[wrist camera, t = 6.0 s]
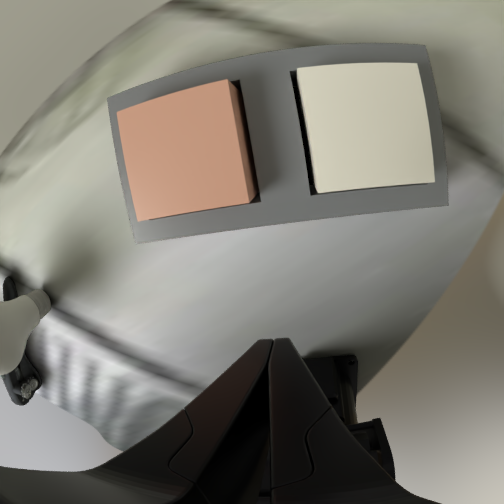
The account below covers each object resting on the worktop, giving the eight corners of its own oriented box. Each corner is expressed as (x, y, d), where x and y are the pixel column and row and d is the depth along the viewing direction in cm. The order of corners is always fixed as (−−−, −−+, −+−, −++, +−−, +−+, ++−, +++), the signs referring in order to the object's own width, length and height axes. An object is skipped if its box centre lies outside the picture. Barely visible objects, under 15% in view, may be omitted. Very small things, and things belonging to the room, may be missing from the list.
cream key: (404, 173, 16) (435, 182, 12) (312, 182, 17) (317, 193, 13) (390, 80, 14) (417, 63, 10) (296, 87, 15) (297, 68, 11)
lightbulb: (51, 261, 23) (-38, 319, 13) (79, 322, 25) (5, 393, 14) (19, 274, 24) (-57, 323, 14) (44, 326, 26) (-22, 386, 16)
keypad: (421, 193, 17) (448, 205, 13) (163, 226, 20) (135, 244, 17) (401, 62, 15) (425, 45, 11) (139, 104, 18) (107, 97, 14)
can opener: (51, 395, 31) (30, 421, 26) (17, 372, 31) (-5, 394, 26) (32, 285, 25) (-5, 310, 20) (-5, 263, 25) (-40, 282, 20)
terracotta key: (260, 189, 17) (249, 202, 13) (171, 204, 18) (137, 221, 14) (243, 95, 16) (227, 79, 12) (154, 117, 17) (116, 112, 13)
